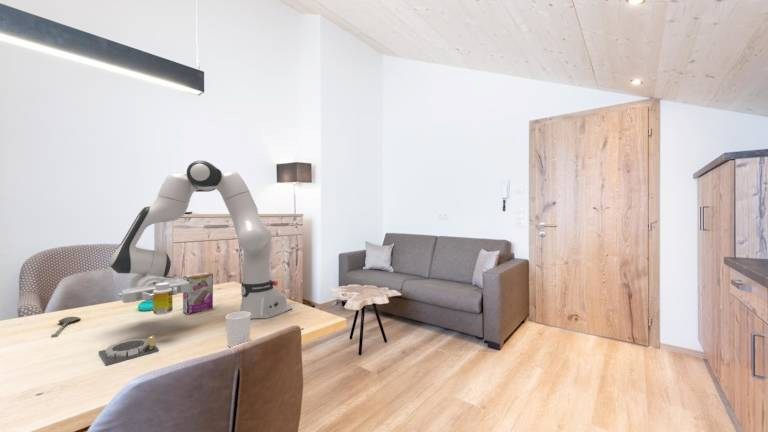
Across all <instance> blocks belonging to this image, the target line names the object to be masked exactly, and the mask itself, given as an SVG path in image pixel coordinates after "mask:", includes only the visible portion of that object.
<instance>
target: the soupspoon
mask: <svg viewBox="0 0 768 432" xmlns="http://www.w3.org/2000/svg"><path fill="white" fill-rule="evenodd" d="M78 320H81V317H79V316H67V317H63V318H61V319H59V320H58V323H62V324H61V326H60V327H59V329H58V330H56V331H55V333H52V334H51V336H50V337H51V338H57V337H59V333H60V331H62V329H63V328H64V327H65V326H66V325H67V324H68V323H71V322H74V321H78Z"/></svg>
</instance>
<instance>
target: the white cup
mask: <svg viewBox="0 0 768 432" xmlns="http://www.w3.org/2000/svg"><path fill="white" fill-rule="evenodd" d="M251 319H252V318H251V313H250V312H246V311H241V312H240V311H235V312H230V313H228V314H226V315H225V331H226V339H227V347H228V348H230V347H233V346H236V345H239V344H242V343H245V342H248V341H249V342H250V338H251V337H250V336H251V324H252V323H251V321H252V320H251Z"/></svg>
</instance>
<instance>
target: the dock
mask: <svg viewBox="0 0 768 432" xmlns="http://www.w3.org/2000/svg"><path fill="white" fill-rule="evenodd" d="M159 350H160V349H159V347H158V346H156V335H152V334H151V335H149V336H147V338H132V339H128V340H123V341H119V342H117V343H113V344H111V345H109V346H108V347H107V348H105V349H102V350H99V351H98V355H99V357H100V358H101V360H102V361H103V364H104V365H105V366H110V365H113V364H117V363H121V362H124V361H128V360H131V359H136V358H139V357H143V356H145V355H147V356H148V355H149V354H153V353H158V352H159Z"/></svg>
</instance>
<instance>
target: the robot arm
mask: <svg viewBox="0 0 768 432" xmlns="http://www.w3.org/2000/svg"><path fill="white" fill-rule="evenodd" d="M215 190H216V191H217V192H219V194H220V195H221V198H222V200H223V202H224V204H225V207H226V209H227V211H228V213H229V215H230V217H231V220H232V223H233V226H234V231H235V233H236V237H237V243H238V245H239V246H240V247H241V249H243V251H244V256H243V260H242V261H243V262H242V265H241V266H242V282H241V291H240V292H241V305H240V309H239V312H241V311H246V312H250V313H251V319H269V318H272V317H275V316H278V315H280V314H283V313H286V312H288V310H289V311H291V310H292V309H293V306H292V305H291V304H289V303H288V302H287V298H286V295H284V294H283V293H282V292H281V291H279V290H278V289H276V288H274V287H277V286H278V284H279V282H278V281H276V280H271V279H270V275H271V274H270V271H271V270H270V269H271V267H270V266H271V265H270V264H271V262H270V259H271V249H272V231H271V230H270V228H269V227H268V226H267V225H265V224H263V223H262V219H261V217H260V214H259V211H258V210H259V209H258V207H257V205H256V203H255V199H253V198H254V197H253V196H252V194H251V191H250V190H249V188H248V186H247V184H246V183H245V180H244V179H243V178H242V176H241V175H240V174H239V173H238V172H237V171H233V170H232V171H226V172H222V170H220V169H219V168H217V167H216V166H215V165H214V164H212V163H211V162H209V161H206V160H195V161H193V162H191V163H189V165H188V166H187V168H186V173H180V172H174V173H170V174H168V175H167V176H166V177H165V179H164V180H163V183H162V184H161V186H160V189H159V191H158V194H157V195H156V196H157V197H156V199H155V200H154V201H153V203H152V204H150V206H145V207H143V208H142V209H141V210H140V212H139V213H138V214H137V216H136V218H134V221H133V222H132V224H131V226H130V227H129V229H128V231H126V234H125V236H124V238H123V239H122V241H121V243H120V244H119V245H118V247H117V248H116V250H115V251H114V253H113V254H112V255H111V257H110V261H109V263H110V265H109V266H110V267H111V269H112V270H114V272H115V273H117V274H131V275H133V274H134V276H132V278H131V279H130V281H129V287H130V288H125V289H122V291H121V292H119V293H117V296H118V297H119V298H121V300H122V303H124V304H130V303H134V302H142V301H153V299H154V294H153V291H154V290H155V289H156V284H158V283H165V282H168V283H169V288H171V289H172V296H176V295H178V294H179V295H180V294H183V293H185V292H189V291H190V283H189V282H188V281H186V280H183V278H180V277H179V276H168V275H169V272H170V269H171V266H172V261H171V258H170V256H169V255H168V253H167V252H166V251H159V250H154V249H153V250H152V249H146V248H145V249H144V248H140V247H139V248H138V247H136V246H137V244H138V242H139V241H140V239H141V236H143V233H144V232H145V230H146V229H147V228H148V227H150V226H152V225H154V224H160V223H169V222H175V221H177V220H180V219H181V218H183V216H184V215H185V214H186V212H187V210H188V207H189V205H190V202H191V197H192V196H193V194H194V193H195V192H202V193H203V192H206V193H207V192H213V191H215ZM290 309H291V310H290ZM285 311H286V312H285Z"/></svg>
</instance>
